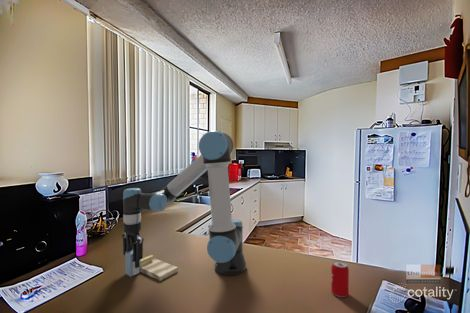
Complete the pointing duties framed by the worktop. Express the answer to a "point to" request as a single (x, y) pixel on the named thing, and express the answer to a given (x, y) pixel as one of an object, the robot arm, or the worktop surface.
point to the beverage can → (340, 279)
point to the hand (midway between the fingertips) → (132, 272)
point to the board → (158, 269)
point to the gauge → (129, 262)
